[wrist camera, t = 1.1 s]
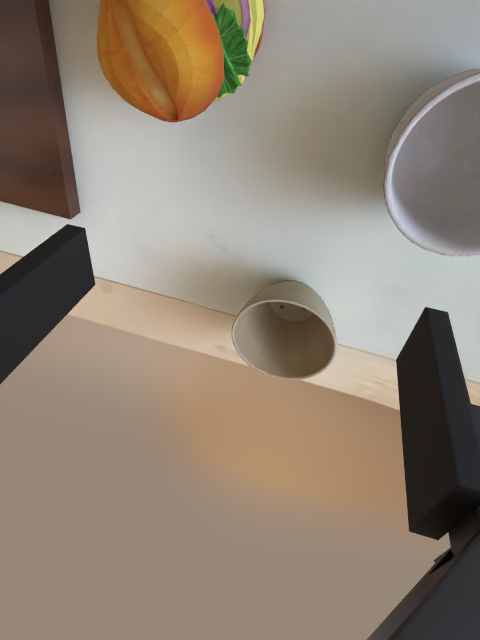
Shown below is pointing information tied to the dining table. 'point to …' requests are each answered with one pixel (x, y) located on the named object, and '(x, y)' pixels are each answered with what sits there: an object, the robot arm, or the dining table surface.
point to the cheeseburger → (177, 51)
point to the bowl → (286, 332)
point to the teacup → (438, 168)
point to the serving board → (33, 114)
